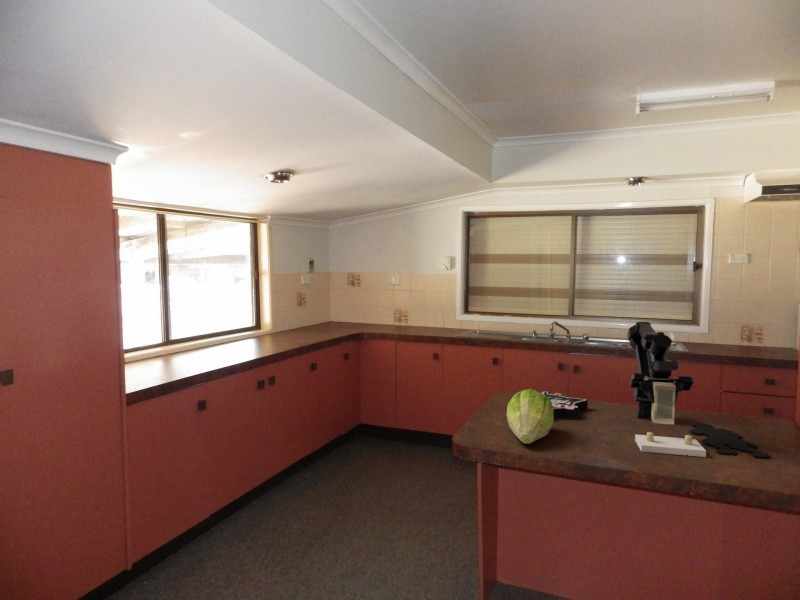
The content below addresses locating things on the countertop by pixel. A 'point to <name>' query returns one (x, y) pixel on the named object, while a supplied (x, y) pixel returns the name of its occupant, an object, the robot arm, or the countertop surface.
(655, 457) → the countertop surface
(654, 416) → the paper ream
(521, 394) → the lettuce
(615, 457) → the countertop surface
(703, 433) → the ragged black cutout
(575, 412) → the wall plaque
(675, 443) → the white peg rack
